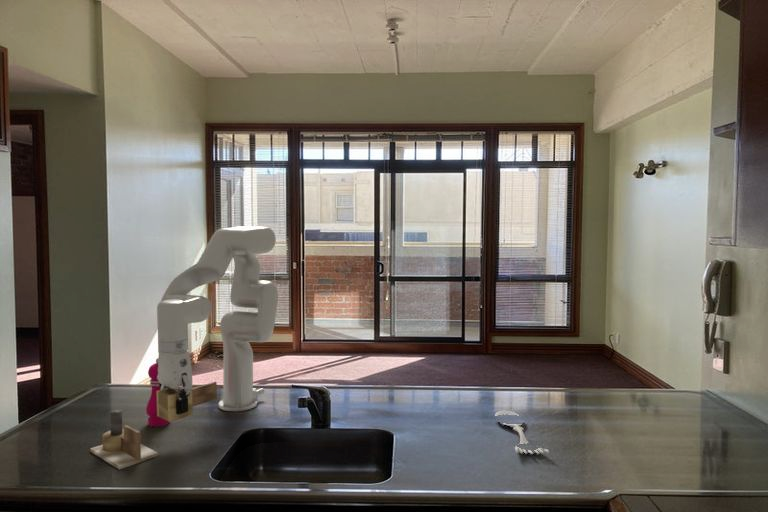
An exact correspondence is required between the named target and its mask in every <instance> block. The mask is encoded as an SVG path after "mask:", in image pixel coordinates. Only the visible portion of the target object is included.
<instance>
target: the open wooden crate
mask: <svg viewBox="0 0 768 512" xmlns="http://www.w3.org/2000/svg"><path fill="white" fill-rule="evenodd" d="M217 384H218V383H217V381H212V382H209V383H206V384H202V385H198V386H196V387H195V386H194V387H192V390H191V392H190V394H189V398H188V412H185V413H182V414H179V415H178V414H176V400H178V399H177V395H176V391H175V390H174V389H172V388H166V389H162V390H158V391H156V392H157V416H158V417H160V418H163V419H165V420H167V421H169V422H170V423H171V422H175V421H178V420H181V419H184V418H187V417H190V416H192V415H193V414H194V413H193V412H194V411H193V407H197V406H199V405H202V404H205V403H208V402H211V401H214V400H217V399H218V396H217V395H218V394H217V393H218V391H217V390H218V389H217V388H218V387H217ZM179 387H183V385H180V386H179ZM182 392H183V389H182V390H180V394H181V393H182Z"/></svg>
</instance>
